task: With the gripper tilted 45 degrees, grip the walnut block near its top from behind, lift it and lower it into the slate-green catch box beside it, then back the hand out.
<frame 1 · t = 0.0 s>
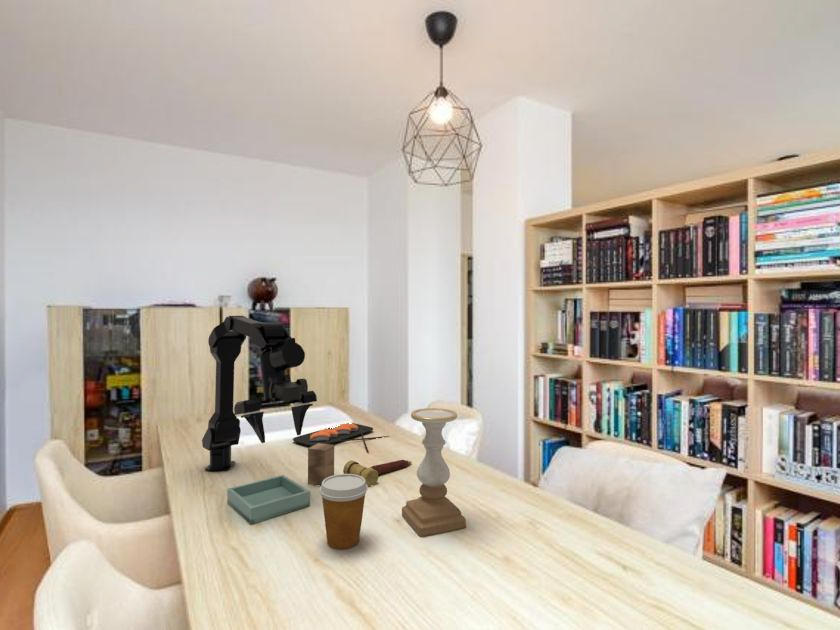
hand: (281, 438, 107), 15 cm above the table, tool pointing down, fingers open, 9 cm apart
gavel: (383, 475, 129), on the table
sushi plate: (350, 442, 159), on the table
candle holder: (432, 522, 100), on the table
catch box: (268, 504, 107), on the table
disposable coffee cup: (343, 542, 91), on the table
walnut block: (321, 482, 121), on the table
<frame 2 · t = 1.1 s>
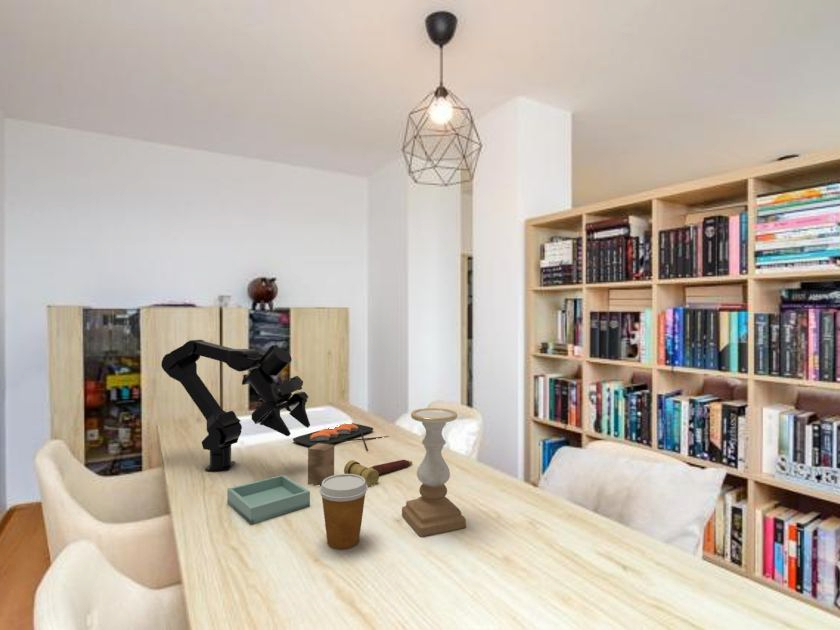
hand: (299, 430, 123), 13 cm above the table, tool tilted 45°, fingers open, 9 cm apart
nothing on the table moved.
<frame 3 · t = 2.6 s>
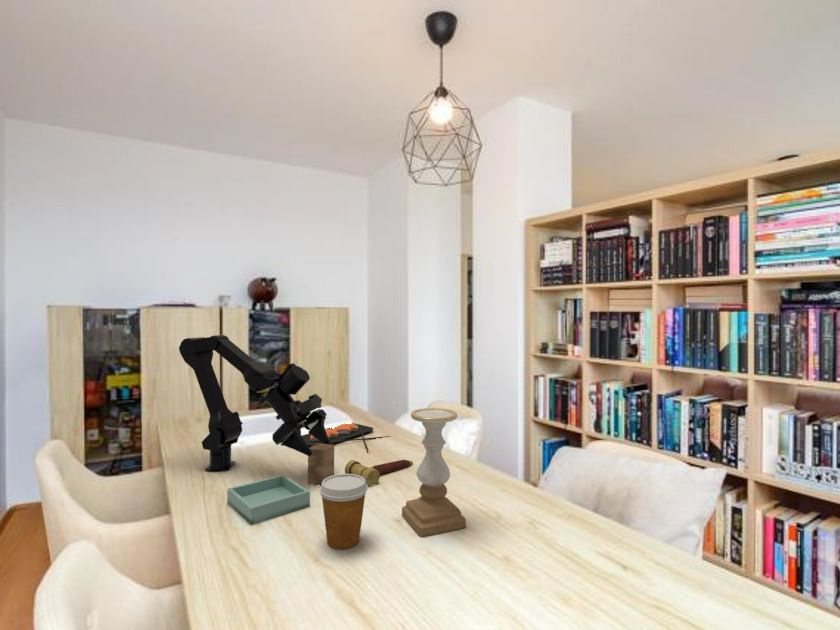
hand: (320, 449, 121), 9 cm above the table, tool tilted 45°, fingers open, 9 cm apart
nothing on the table moved.
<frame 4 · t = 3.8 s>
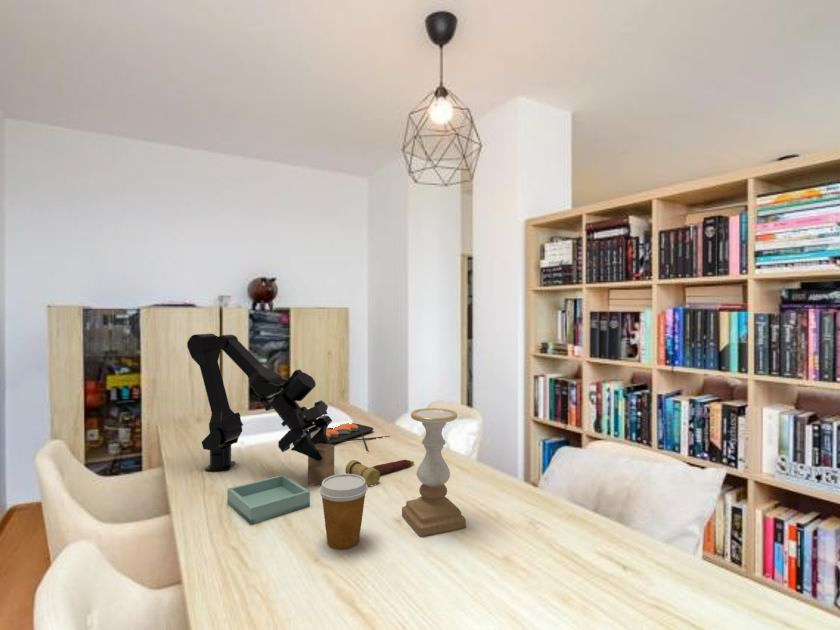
hand: (326, 456, 121), 7 cm above the table, tool tilted 45°, fingers closed on walnut block, 5 cm apart
walnut block: (321, 482, 121), on the table, touching gripper
everything else where it was.
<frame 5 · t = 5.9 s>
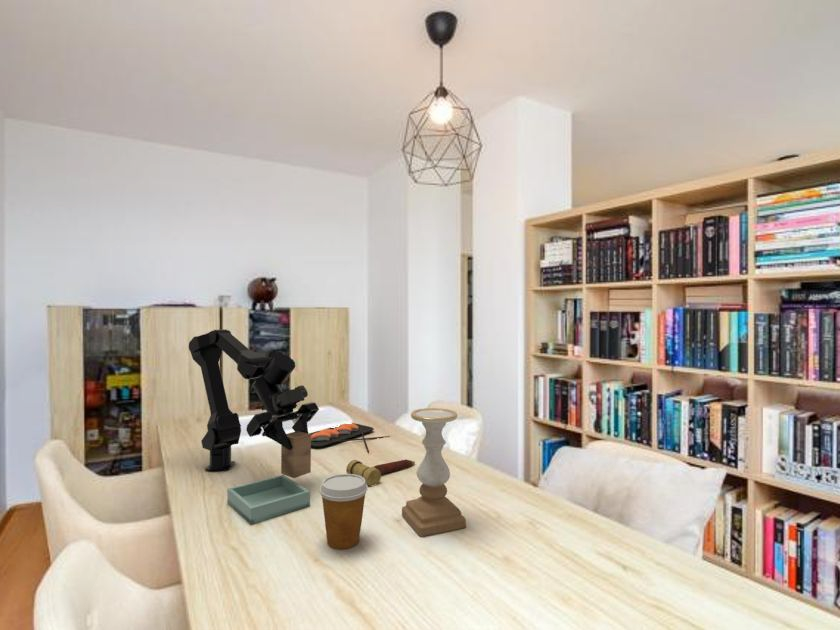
hand: (299, 446, 112), 12 cm above the table, tool tilted 45°, fingers closed on walnut block, 5 cm apart
walnut block: (295, 472, 113), point 6 cm above the table, touching gripper
everything else where it was.
when the fingers open (9 cm above the table, at t = 8.1 s): walnut block drops 1 cm, resting on catch box.
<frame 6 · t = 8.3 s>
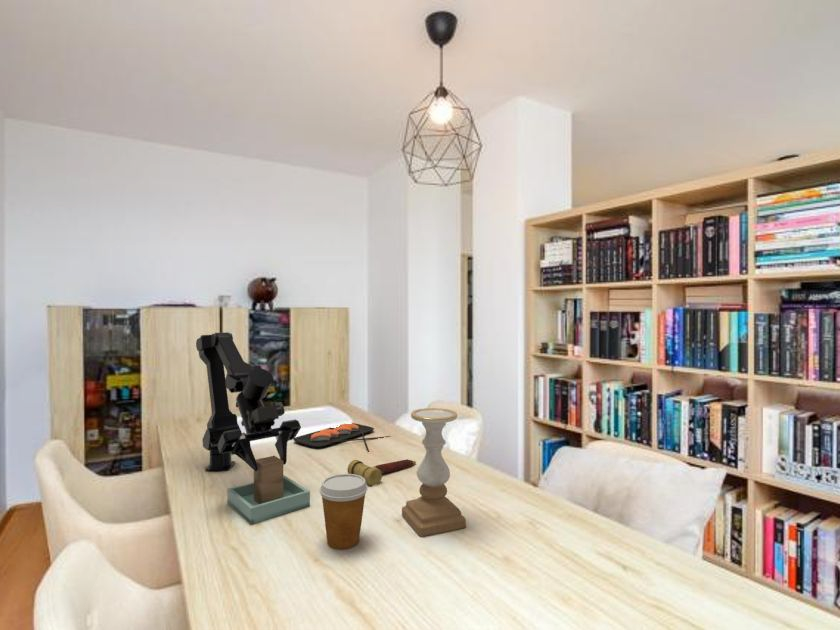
hand: (271, 466, 106), 9 cm above the table, tool tilted 45°, fingers open, 7 cm apart
walnut block: (268, 500, 107), point 1 cm above the table, touching catch box
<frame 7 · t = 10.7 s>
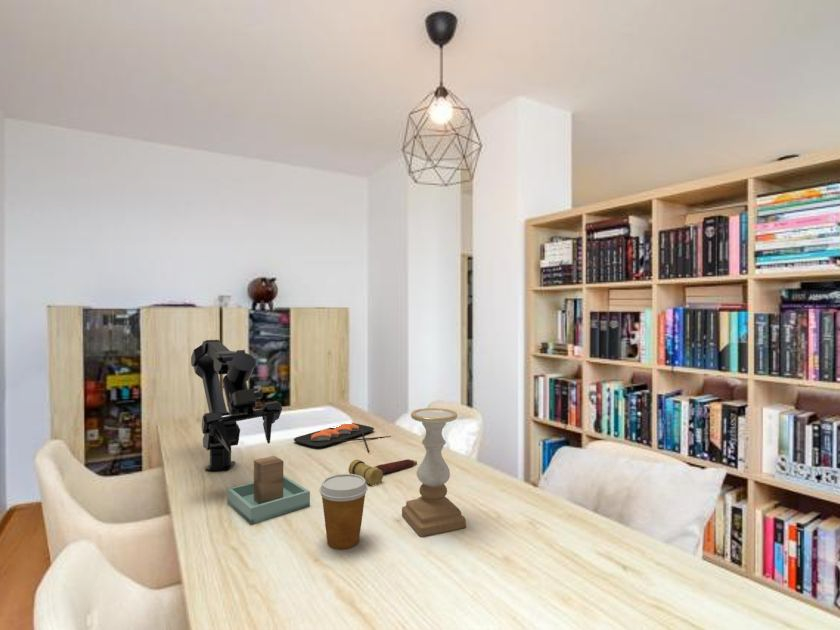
hand: (250, 447, 111), 12 cm above the table, tool tilted 40°, fingers open, 9 cm apart
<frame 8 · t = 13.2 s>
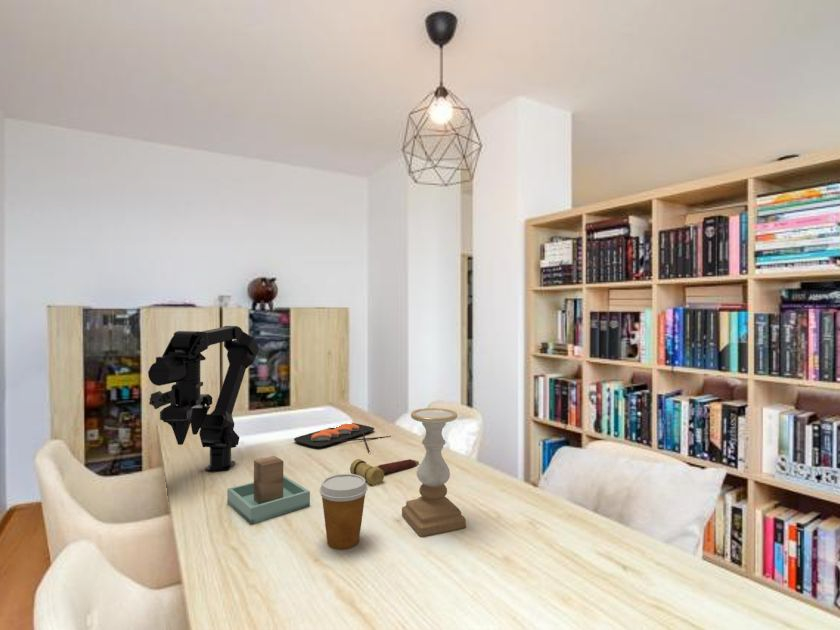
hand: (188, 439, 118), 12 cm above the table, tool pointing down, fingers open, 9 cm apart
at the end: walnut block inside the target area on the catch box (0.0 cm from its centre), point 1.0 cm above the catch box's base; walnut block tilted 0°; the gripper is holding nothing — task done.
